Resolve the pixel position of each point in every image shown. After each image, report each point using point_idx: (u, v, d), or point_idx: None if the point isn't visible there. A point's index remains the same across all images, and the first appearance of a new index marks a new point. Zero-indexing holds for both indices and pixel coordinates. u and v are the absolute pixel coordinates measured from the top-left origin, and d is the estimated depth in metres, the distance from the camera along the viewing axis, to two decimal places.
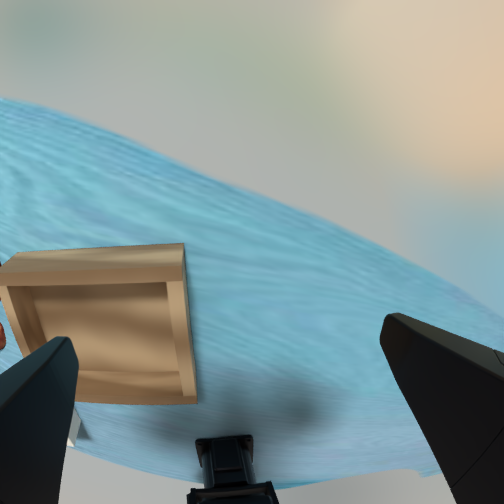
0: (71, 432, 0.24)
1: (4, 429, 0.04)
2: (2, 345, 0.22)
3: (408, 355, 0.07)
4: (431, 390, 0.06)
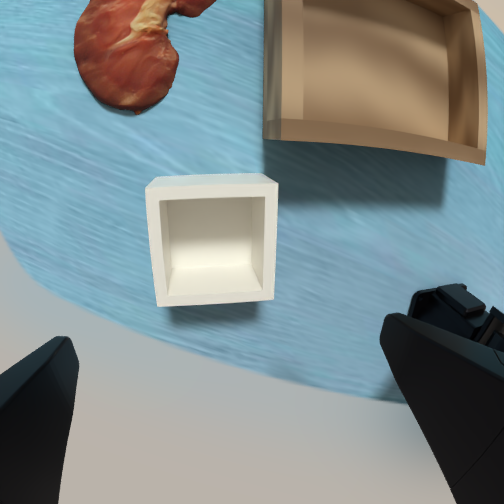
0: None
1: (4, 429, 0.04)
2: (160, 95, 0.15)
3: (408, 355, 0.07)
4: (431, 390, 0.06)
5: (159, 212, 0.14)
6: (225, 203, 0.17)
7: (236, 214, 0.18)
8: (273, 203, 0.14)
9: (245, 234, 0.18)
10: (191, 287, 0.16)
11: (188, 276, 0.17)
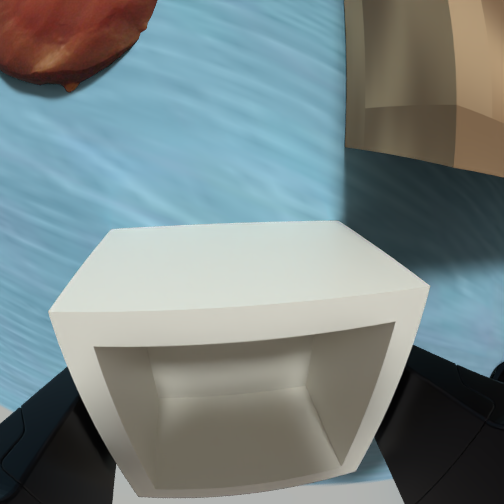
0: None
1: (63, 441, 0.04)
2: (118, 44, 0.06)
3: None
4: None
5: (102, 370, 0.04)
6: None
7: None
8: (408, 333, 0.05)
9: (300, 343, 0.09)
10: (199, 464, 0.07)
11: (191, 427, 0.08)
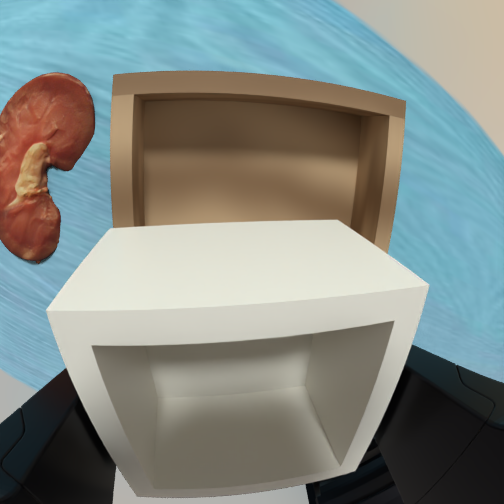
0: None
1: (63, 440, 0.04)
2: (50, 250, 0.17)
3: None
4: None
5: (100, 369, 0.04)
6: None
7: None
8: (407, 332, 0.05)
9: (300, 342, 0.09)
10: (198, 464, 0.07)
11: (190, 427, 0.08)
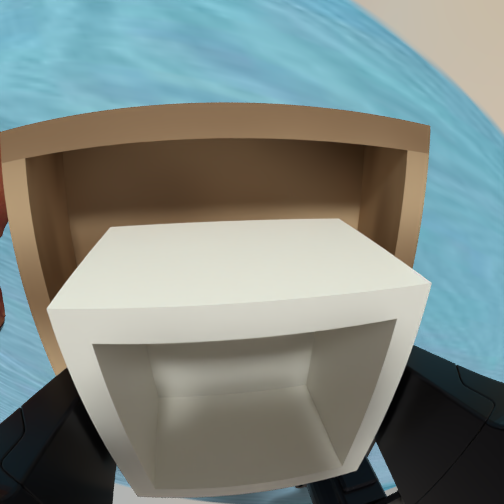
0: None
1: (64, 440, 0.04)
2: None
3: None
4: None
5: (101, 368, 0.04)
6: None
7: None
8: (409, 331, 0.05)
9: (301, 342, 0.09)
10: (199, 464, 0.07)
11: (191, 426, 0.08)
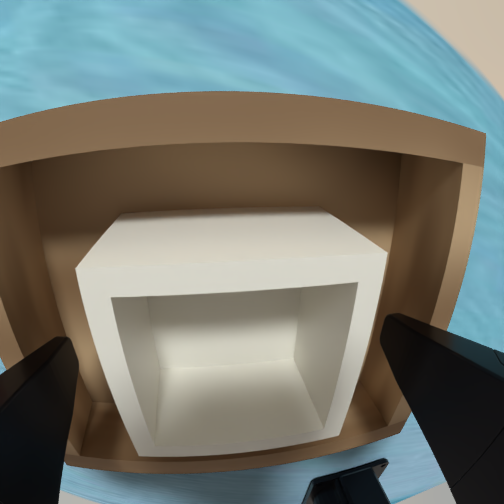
0: None
1: (4, 428, 0.04)
2: None
3: (408, 355, 0.07)
4: (431, 390, 0.06)
5: (116, 320, 0.06)
6: None
7: None
8: (371, 294, 0.06)
9: (287, 316, 0.10)
10: (195, 424, 0.08)
11: (189, 392, 0.09)
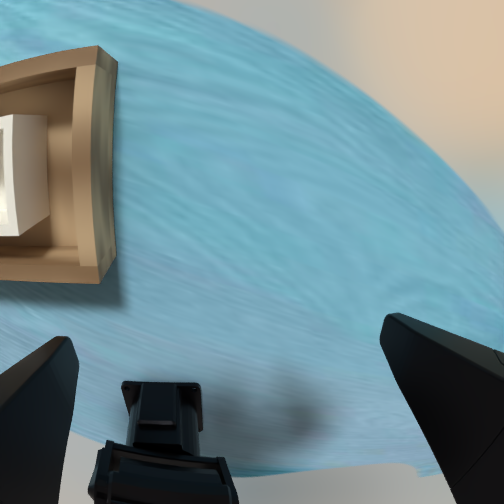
0: (24, 205, 0.13)
1: (4, 429, 0.04)
2: None
3: (408, 355, 0.07)
4: (431, 390, 0.06)
5: None
6: None
7: None
8: (9, 133, 0.10)
9: None
10: None
11: None
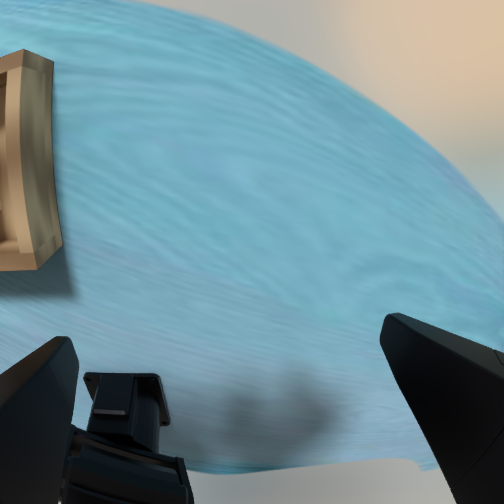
0: None
1: (4, 428, 0.04)
2: None
3: (408, 355, 0.07)
4: (431, 390, 0.06)
5: None
6: None
7: None
8: None
9: None
10: None
11: None
